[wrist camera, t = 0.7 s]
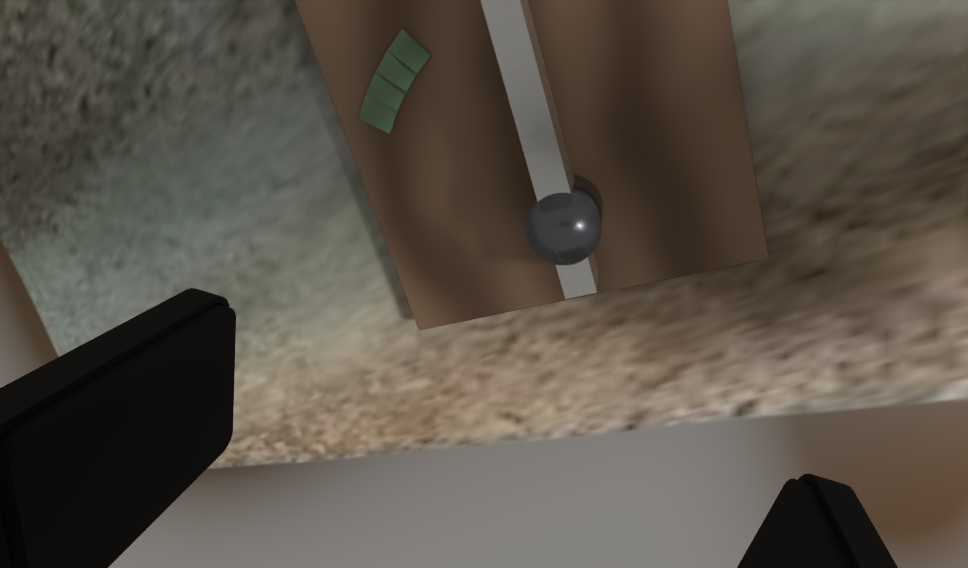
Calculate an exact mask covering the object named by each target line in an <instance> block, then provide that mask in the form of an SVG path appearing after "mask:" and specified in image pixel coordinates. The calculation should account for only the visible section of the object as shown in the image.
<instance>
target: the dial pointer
mask: <svg viewBox="0 0 968 568" xmlns="http://www.w3.org/2000/svg"><path fill="white" fill-rule="evenodd" d="M481 4H482V7H483V11H484V14H485V18H486V21H487V25H488V28H489V32H490V36H491V39H492V43H493V46H494V50H495V53H496V57H497V60H498V64H499V67H500V71H501V74H502V78H503V81H504V85H505V88H506V92H507V95H508V99H509V103H510V106H511V110H512V113H513V117H514V120H515V124H516V127H517V131H518V134H519V138H520V141H521V145H522V148H523V152H524V155H525V159H526V162H527V166H528V170H529V173H530V177H531V180H532V184H533V187H534V191H535V194H536V198H537V200H536V202H535V203H534V205H533V207H532V209H531V211H530V213H529V215H528V217H527V221H526V237H527V240H528V243H529V245H530V247H531V248H532V250H533V251H534V252H535V253H536V254H537V255H538V256H539V257H540V258H541V259H543V260H545V261H547V262H549V263H552V264H555V265H556V268H557V272H558V275H559V279H560V282H561V286H562V289H563V293H564V296H565V299H569V298H574V297H579V296H583V295H588V294H593V293H597V285H598V269H597V265H596V261H595V257H594V253H593V251H594V250H595V249H596V247H597V245H598V243H599V241H600V237H601V229H602V212H603V203H602V198H601V195H600V193H599V191H598V189H597V188H596V187H595V185H594V184H593V183H591V182H590V181H589V180H587V179H586V178H583V177H581V176H577V175H573V173H572V169H571V165H570V161H569V157H568V153H567V150H566V146H565V142H564V138H563V134H562V130H561V127H560V123H559V119H558V115H557V111H556V107H555V103H554V100H553V96H552V92H551V88H550V84H549V80H548V76H547V73H546V69H545V65H544V61H543V57H542V53H541V50H540V46H539V42H538V38H537V34H536V30H535V26H534V23H533V19H532V15H531V11H530V7H529V3H528V0H481Z"/></svg>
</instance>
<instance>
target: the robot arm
mask: <svg viewBox="0 0 968 568" xmlns="http://www.w3.org/2000/svg"><path fill="white" fill-rule="evenodd" d="M235 331H236V314H235V312H234V310H233V309H232V308H229V303H228V301H227V299H225V298H224V297H221V296H218V295H215V294H212V293H208V292H205V291H202V290H198V289H193V288H190V289H187V290H185V291H183V292H181V293H179V294H177V295H175V296H174V297H172V298H170V299H168V300H166V301H164V302H162V303H160V304H158V305H157V306H155V307H153V308H151V309H149V310H147V311H145V312H143V313H141V314H140V315H138V316H136V317H134V318H132V319H130V320H128V321H126V322H124V323H123V324H121V325H119V326H117V327H115V328H113V329H111V330H109V331H107V332H106V333H104V334H102V335H100V336H98V337H96V338H94V339H92V340H90V341H89V342H87V343H85V344H83V345H81V346H79V347H77V348H75V349H73V350H72V351H70V352H68V353H66V354H64V355H62V356H60V357H58V358H57V359H55V360H53V361H51V362H49V363H47V364H45V365H43V366H42V367H39V368H38V369H36V370H34V371H32V372H30V373H28V374H26V375H24V376H23V377H21V378H19V379H17V380H15V381H13V382H11V383H9V384H7V385H5V386H4V387H2V388H0V568H108V567H109V566H110V565H111V564H112V563H113V562H114V561H115V560H116V559H117V558H118V557H119V556H120V555H121V554H122V553H123V552H124V551H125V550H126V549H127V548H128V547H129V546H130V545H131V544H132V543H133V542H134V541H135V540H136V539H137V538H138V537H139V536H140V535H141V534H142V533H143V532H144V531H145V530H146V529H147V528H148V527H149V526H150V525H151V524H152V523H153V522H154V521H155V520H156V519H157V518H158V517H159V516H160V515H161V514H162V513H163V512H164V511H165V510H166V509H167V508H168V507H169V506H170V505H171V504H172V503H173V502H174V501H175V500H176V499H177V498H178V497H179V496H180V495H181V494H182V493H183V492H184V491H185V490H186V489H187V488H188V487H189V486H190V485H191V484H192V483H193V482H194V481H195V480H196V479H197V478H198V476H200V475H201V474H202V473H203V472H204V471H205V470H206V469H207V468H208V467H209V466H210V465H211V464H212V463H213V462H214V461H215V460H216V459H217V458H218V457H219V456H220V455H221V454H222V453H223V452H224V450H225V449H226V448H227V446H228V444H229V442H230V440H231V437H232V432H233V404H234V368H235ZM737 568H898V567H897V566H896V564H895V562H894V560H893V559H892V557H891V555H890V553H889V552H888V550H887V548H886V547H885V545H884V543H883V541H882V539H881V538H880V536H879V534H878V532H877V531H876V529H875V527H874V526H873V524H872V522H871V520H870V519H869V517H868V515H867V513H866V512H865V510H864V508H863V507H862V505H861V503H860V501H859V499H858V498H857V496H856V494H855V493H854V491H853V490H852V489H851V487H849V486H847V485H845V484H842V483H839V482H835V481H832V480H829V479H826V478H822V477H819V476H816V475H812V474H804V475H802V476H801V477H800V478H799V479H798V480H796V479H790V480H789V481H787V482H786V483H785V485H784V486H783V488H782V490H781V491H780V493H779V495H778V497H777V499H776V500H775V502H774V504H773V506H772V507H771V509H770V511H769V513H768V514H767V516H766V518H765V520H764V521H763V523H762V525H761V527H760V528H759V530H758V532H757V534H756V536H755V537H754V539H753V541H752V543H751V544H750V546H749V548H748V550H747V551H746V553H745V555H744V557H743V558H742V560H741V562H740V564H739V566H738V567H737Z"/></svg>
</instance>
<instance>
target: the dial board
mask: <svg viewBox="0 0 968 568" xmlns="http://www.w3.org/2000/svg"><path fill="white" fill-rule="evenodd" d="M295 3H296V6H297V8H298V11H299V14H300V16H301V19H302V22H303V24H304V27H305V30H306V32H307V35H308V37H309V40H310V43H311V45H312V48H313V51H314V53H315V56H316V59H317V61H318V64H319V67H320V69H321V72H322V75H323V77H324V80H325V83H326V85H327V88H328V91H329V93H330V96H331V99H332V101H333V104H334V106H335V109H336V112H337V114H338V117H339V120H340V122H341V125H342V128H343V130H344V133H345V136H346V138H347V141H348V144H349V146H350V149H351V152H352V154H353V157H354V160H355V162H356V165H357V168H358V170H359V173H360V175H361V178H362V181H363V183H364V186H365V189H366V191H367V194H368V197H369V199H370V202H371V205H372V207H373V210H374V213H375V215H376V218H377V221H378V223H379V226H380V229H381V231H382V234H383V237H384V239H385V242H386V244H387V247H388V250H389V252H390V255H391V258H392V260H393V263H394V266H395V268H396V271H397V274H398V276H399V279H400V282H401V284H402V287H403V290H404V292H405V295H406V298H407V300H408V303H409V306H410V308H411V311H412V313H413V316H414V319H415V321H416V324H417V327H418V329H419V330H423V329H428V328H433V327H438V326H443V325H447V324H452V323H457V322H462V321H467V320H472V319H476V318H481V317H486V316H491V315H496V314H501V313H506V312H510V311H515V310H520V309H525V308H530V307H535V306H539V305H544V304H549V303H554V302H559V301H564V300H569V299H573V298H569V299H565V296H564V293H563V289H562V286H561V282H560V279H559V275H558V272H557V268H556V265H555V264H552V263H549V262H547V261H545V260H543V259H541V258H540V257H539V256H538V255H537V254H536V253H535V252H534V251H533V250H532V248H531V247H530V245H529V243H528V240H527V237H526V221H527V217H528V215H529V213H530V211H531V209H532V207H533V205H534V203H535V202H536V200H537V198H536V194H535V191H534V187H533V184H532V180H531V177H530V173H529V170H528V166H527V162H526V159H525V155H524V152H523V148H522V145H521V141H520V138H519V134H518V131H517V127H516V124H515V120H514V117H513V113H512V110H511V106H510V103H509V99H508V95H507V92H506V88H505V85H504V81H503V78H502V74H501V71H500V67H499V64H498V60H497V57H496V53H495V50H494V46H493V43H492V39H491V36H490V32H489V28H488V25H487V21H486V18H485V14H484V11H483V7H482V4H481V0H295ZM528 3H529V7H530V11H531V15H532V19H533V23H534V26H535V30H536V34H537V38H538V42H539V46H540V50H541V53H542V57H543V61H544V65H545V69H546V73H547V76H548V80H549V84H550V88H551V92H552V96H553V100H554V103H555V107H556V111H557V115H558V119H559V123H560V127H561V130H562V134H563V138H564V142H565V146H566V150H567V153H568V157H569V161H570V165H571V169H572V173H573V175H577V176H581V177H583V178H586V179H587V180H589V181H590V182H591V183H593V184H594V185H595V187H596V188H597V189H598V191H599V193H600V195H601V198H602V203H603V212H602V229H601V237H600V241H599V243H598V245H597V247H596V249H595V250H594V251H593V253H594V257H595V261H596V265H597V269H598V285H597V293H593V294H598V293H602V292H607V291H612V290H617V289H622V288H627V287H632V286H636V285H641V284H646V283H651V282H656V281H661V280H665V279H670V278H675V277H680V276H685V275H690V274H695V273H699V272H704V271H709V270H714V269H719V268H724V267H728V266H733V265H738V264H743V263H748V262H753V261H758V260H762V259H767V258H768V252H767V245H766V239H765V233H764V227H763V220H762V214H761V208H760V202H759V195H758V189H757V183H756V177H755V170H754V164H753V158H752V152H751V145H750V139H749V133H748V127H747V120H746V114H745V108H744V102H743V95H742V89H741V83H740V77H739V70H738V64H737V58H736V52H735V45H734V39H733V33H732V27H731V20H730V14H729V8H728V2H727V0H528ZM593 294H588V295H593ZM588 295H583V296H588ZM583 296H579V297H583ZM574 298H578V297H574Z"/></svg>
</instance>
